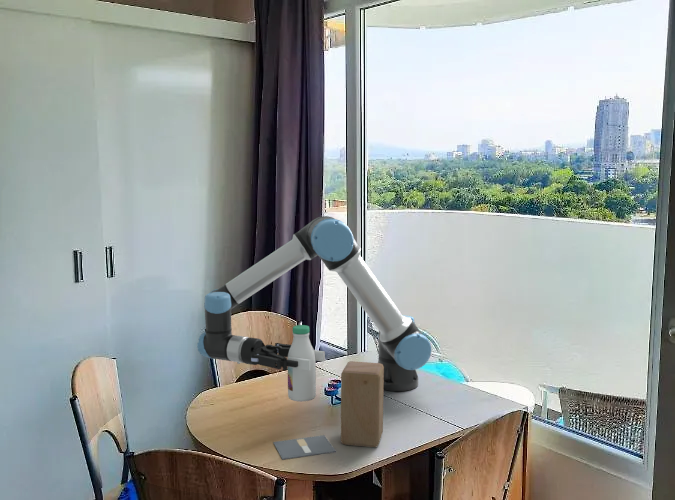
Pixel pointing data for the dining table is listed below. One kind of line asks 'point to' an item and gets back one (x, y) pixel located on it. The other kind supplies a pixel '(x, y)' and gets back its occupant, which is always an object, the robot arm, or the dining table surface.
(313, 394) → the milk bottle
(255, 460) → the dining table surface
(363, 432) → the wooden block
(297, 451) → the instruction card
